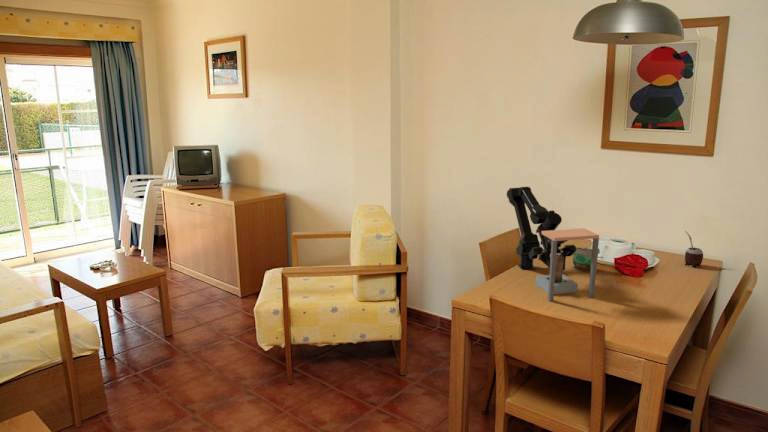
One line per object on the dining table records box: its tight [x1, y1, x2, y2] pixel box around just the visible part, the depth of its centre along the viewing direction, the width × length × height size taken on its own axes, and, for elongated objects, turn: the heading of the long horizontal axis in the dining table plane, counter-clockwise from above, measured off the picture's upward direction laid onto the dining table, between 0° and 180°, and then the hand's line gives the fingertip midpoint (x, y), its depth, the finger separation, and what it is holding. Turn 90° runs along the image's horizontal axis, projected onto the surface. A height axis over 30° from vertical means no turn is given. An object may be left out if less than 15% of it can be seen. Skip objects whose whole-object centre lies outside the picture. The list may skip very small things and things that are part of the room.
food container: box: [572, 247, 601, 272], centre depth 237 cm, size 12×6×10 cm, turn 62°
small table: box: [535, 228, 600, 302], centre depth 210 cm, size 19×18×25 cm
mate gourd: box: [684, 230, 704, 268], centre depth 240 cm, size 8×8×15 cm
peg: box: [555, 254, 564, 283], centre depth 214 cm, size 4×4×12 cm
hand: (558, 270), depth 213 cm, fingers closed on peg, 4 cm apart
